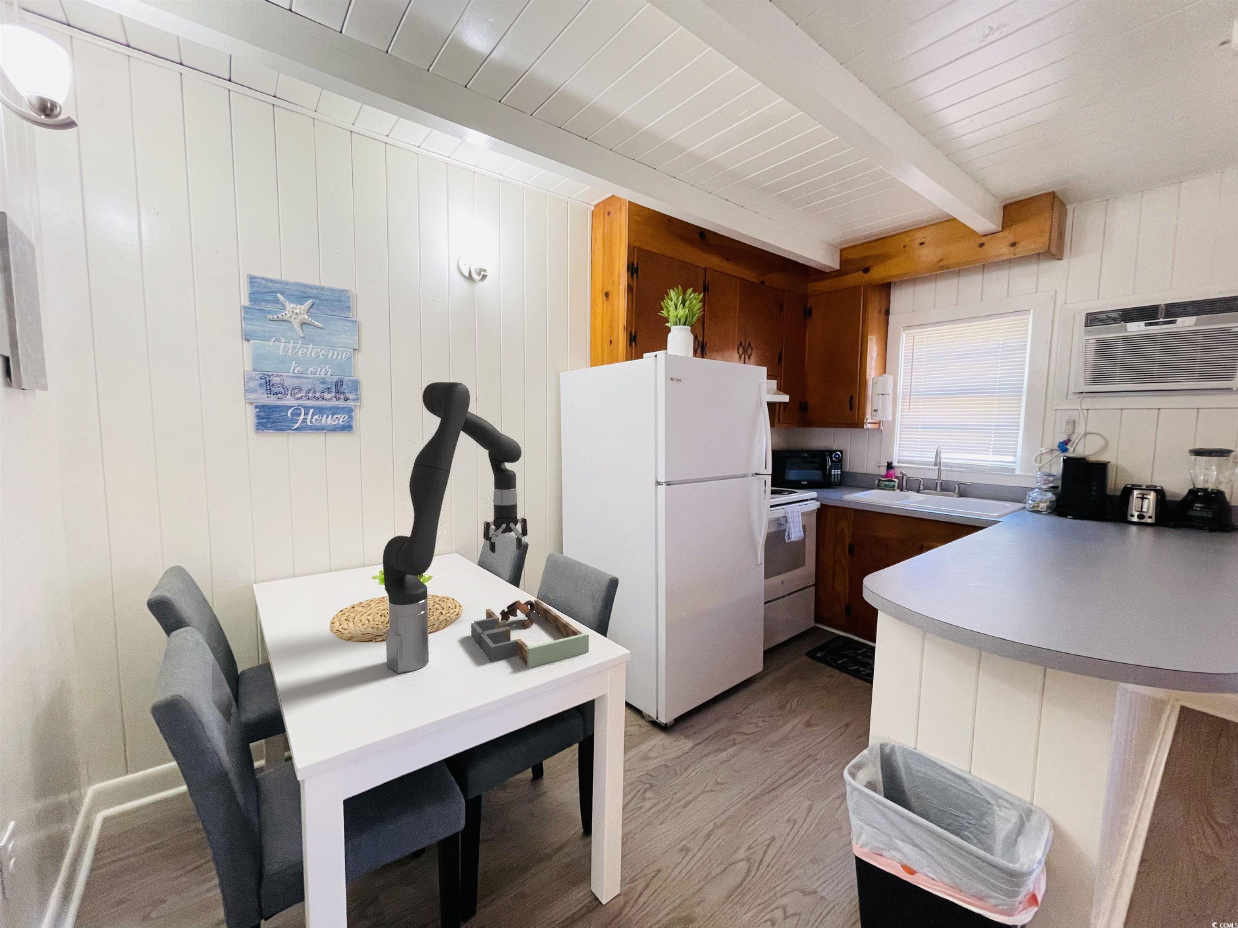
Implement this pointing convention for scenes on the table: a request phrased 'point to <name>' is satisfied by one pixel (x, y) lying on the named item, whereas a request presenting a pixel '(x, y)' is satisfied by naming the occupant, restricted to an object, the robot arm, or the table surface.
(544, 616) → the walnut track
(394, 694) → the table surface
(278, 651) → the table surface
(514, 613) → the brown black figurine
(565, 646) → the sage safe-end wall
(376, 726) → the table surface
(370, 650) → the table surface
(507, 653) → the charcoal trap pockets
